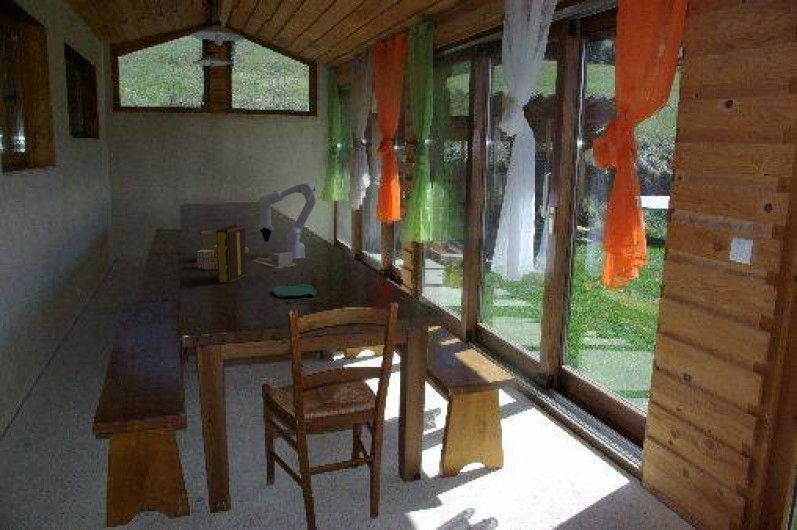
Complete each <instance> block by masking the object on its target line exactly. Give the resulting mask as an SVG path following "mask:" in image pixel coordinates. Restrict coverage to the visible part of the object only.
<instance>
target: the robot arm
mask: <svg viewBox="0 0 797 530" xmlns="http://www.w3.org/2000/svg"><path fill="white" fill-rule="evenodd" d="M316 192H317V189H316V187H315V185H314V183H312V182H310V181H308V182H305V183H304V182H303V183H301V184H296V185H293V186H291V187H289V188H287V189H285V190H283V191H280V190H273V192H272V193H267V194H266V195H263V196H261V197H260V198H259V199H258V203H259V206H260V208H259V209H260V210H259V211H260V223H258V225H257V226H258V228H259V231H260V233H261V235H262V238H263V242H264V243H267V242H270V237H271V234H272V232H273V231H274V230H275V226H273V225H272V209H271V205H273V204H274V205H275V204H276V203H279V202H281V201H283V199H284V198H285V197H287V196H290V195H292V194H296V193H298V194H300V193H301V194H302V196H304V198H305V204H304V206H303V208H302V210H301V212H300V213H299V215H298V217H297V219H296V221H295V224H294V226H293V227H292V228H291V229H290V231H289V232H288V233H287V234H286V236H285V239H286V248H287V249H286V250H287V251H286V252H292V255H293V260H294V259H302V258H303V259H306V249H305V248H306V247H305V245H304V244H305V243H304V242H301V241H300V239H301V238H302V237H301V235H302V232H303V228H304V226H305V224H306V223H307V220H308V219H309V217H310V214H312V211H313V209H314V207H315V205H316V204H317V203H316V202H317V193H316Z"/></svg>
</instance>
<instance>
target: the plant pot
mask: <svg viewBox="0 0 797 530" xmlns="http://www.w3.org/2000/svg"><path fill="white" fill-rule="evenodd" d="M200 236H201V241H202V246H203V250H214V246H216V245H217V234H216V230H215V229H214V230H203V231H201V232H200Z"/></svg>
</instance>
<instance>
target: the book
mask: <svg viewBox="0 0 797 530" xmlns="http://www.w3.org/2000/svg"><path fill="white" fill-rule="evenodd" d="M246 233H247V232H246V225H245V224H241V225H237V224H231V225H227V226H224V227H220V228H217V229H216V234H217V257H218V269H217V276H218V279H217V280H218V283H219V284H231V283H230V282H232V283H234V282H236V281H238V280H240V279H242V277H243V278H245V277H247V276H248V264H247V261H248V259H247V255H248V254H249V253H250V250H249V247H247V236H246V235H247V234H246ZM244 276H245V277H244ZM237 279H238V280H237ZM235 280H236V281H235ZM233 281H234V282H233Z"/></svg>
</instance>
